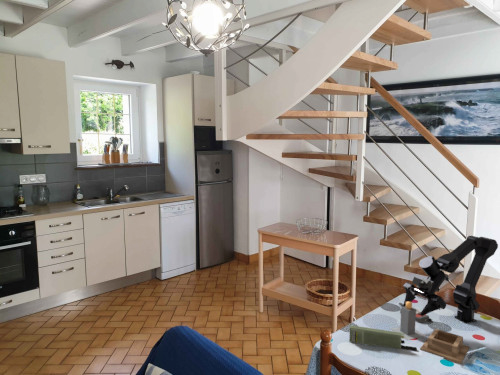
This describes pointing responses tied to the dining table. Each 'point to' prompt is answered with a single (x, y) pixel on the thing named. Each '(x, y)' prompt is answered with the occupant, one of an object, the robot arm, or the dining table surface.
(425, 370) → the dining table surface
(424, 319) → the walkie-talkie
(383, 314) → the dining table surface
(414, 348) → the handheld radio
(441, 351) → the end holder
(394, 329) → the mat
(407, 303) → the connector plug
